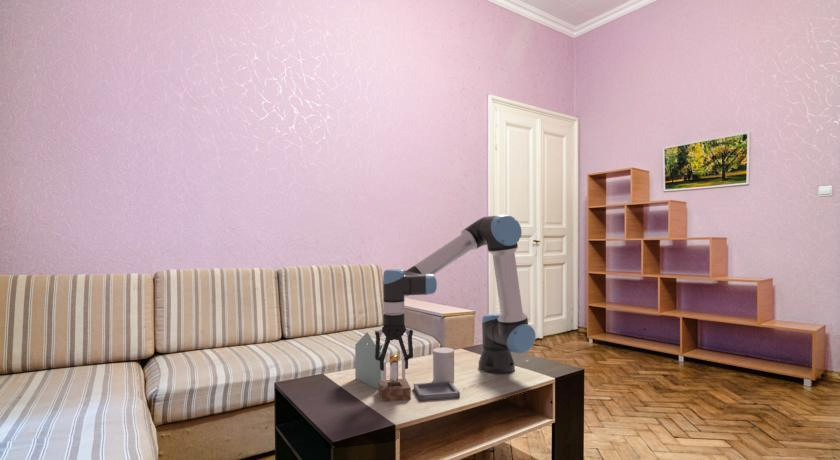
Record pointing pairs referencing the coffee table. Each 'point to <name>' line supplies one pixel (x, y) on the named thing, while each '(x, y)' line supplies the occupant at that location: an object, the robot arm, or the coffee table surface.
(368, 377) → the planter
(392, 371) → the pin
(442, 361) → the white cylinder
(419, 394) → the tray
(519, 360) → the coffee table surface
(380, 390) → the block
